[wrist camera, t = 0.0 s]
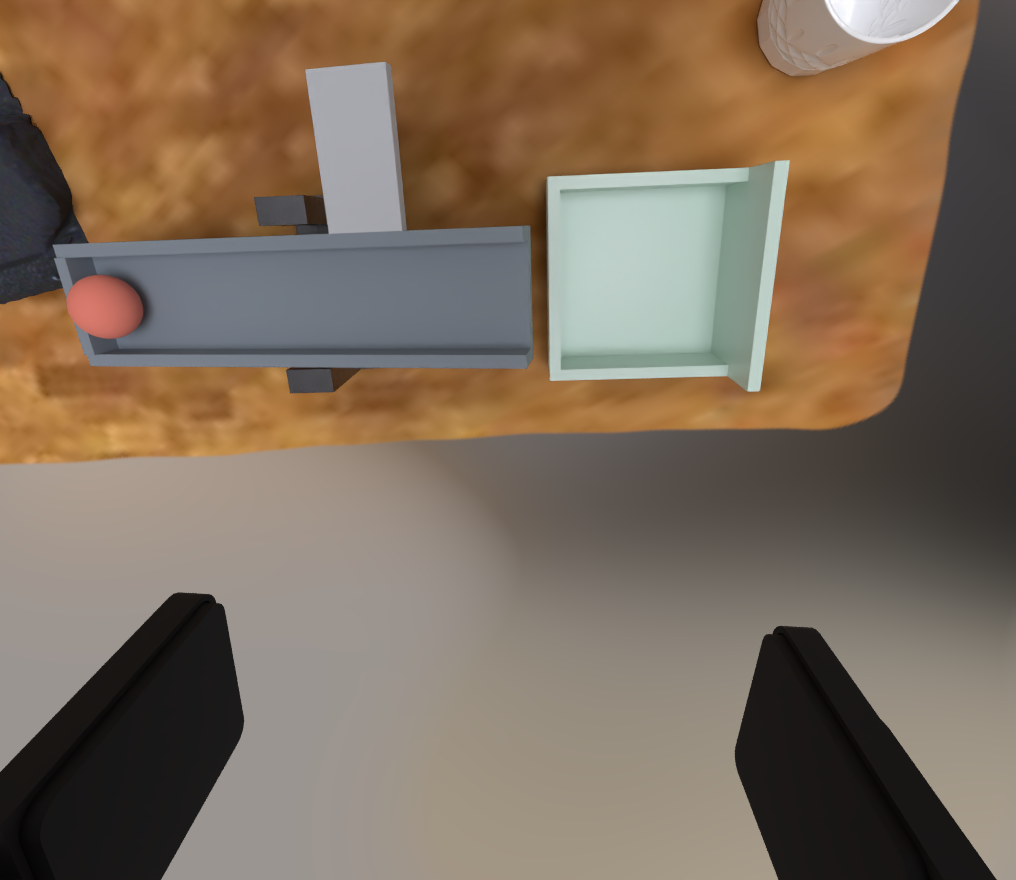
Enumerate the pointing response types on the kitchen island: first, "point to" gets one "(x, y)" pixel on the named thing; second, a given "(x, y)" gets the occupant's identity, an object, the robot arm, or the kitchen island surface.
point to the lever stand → (307, 220)
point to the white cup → (839, 30)
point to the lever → (327, 270)
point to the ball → (104, 306)
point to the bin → (662, 272)
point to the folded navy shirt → (30, 206)
